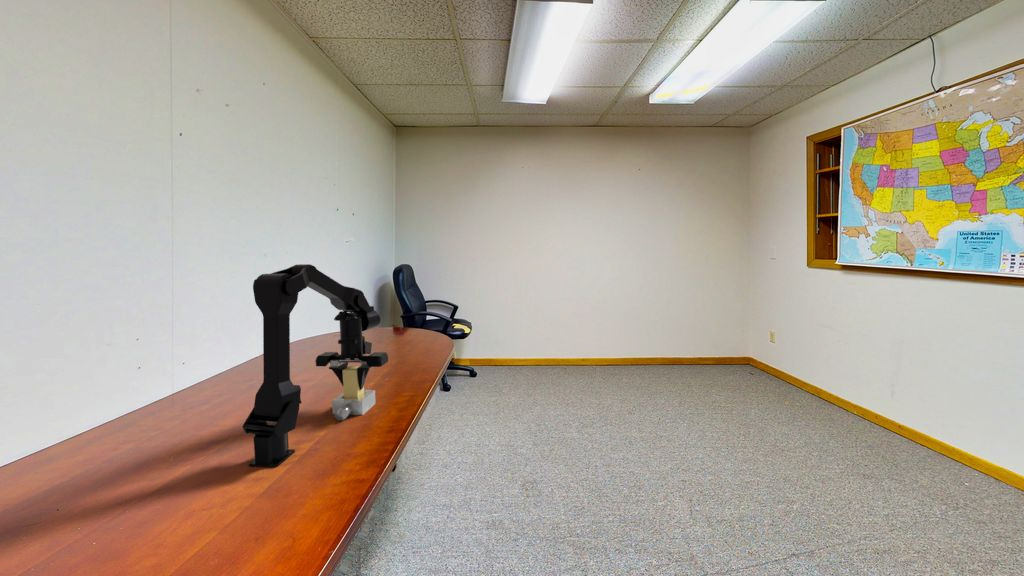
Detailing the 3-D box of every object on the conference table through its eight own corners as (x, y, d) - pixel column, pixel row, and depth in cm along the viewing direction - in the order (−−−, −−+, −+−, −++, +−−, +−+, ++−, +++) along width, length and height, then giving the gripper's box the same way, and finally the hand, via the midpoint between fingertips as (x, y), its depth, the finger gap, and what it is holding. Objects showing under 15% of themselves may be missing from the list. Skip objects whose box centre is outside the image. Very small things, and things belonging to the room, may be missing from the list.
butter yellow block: (358, 405, 112) (356, 370, 111) (344, 405, 112) (342, 370, 111) (364, 400, 116) (362, 366, 115) (351, 400, 116) (349, 366, 115)
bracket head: (356, 421, 105) (355, 406, 105) (324, 420, 106) (324, 405, 106) (381, 398, 122) (380, 385, 122) (353, 398, 122) (353, 385, 122)
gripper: (394, 329, 119) (396, 380, 121) (333, 329, 121) (336, 380, 122) (379, 336, 108) (381, 393, 110) (312, 336, 110) (315, 392, 111)
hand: (353, 389), depth 113 cm, fingers closed on butter yellow block, 4 cm apart
